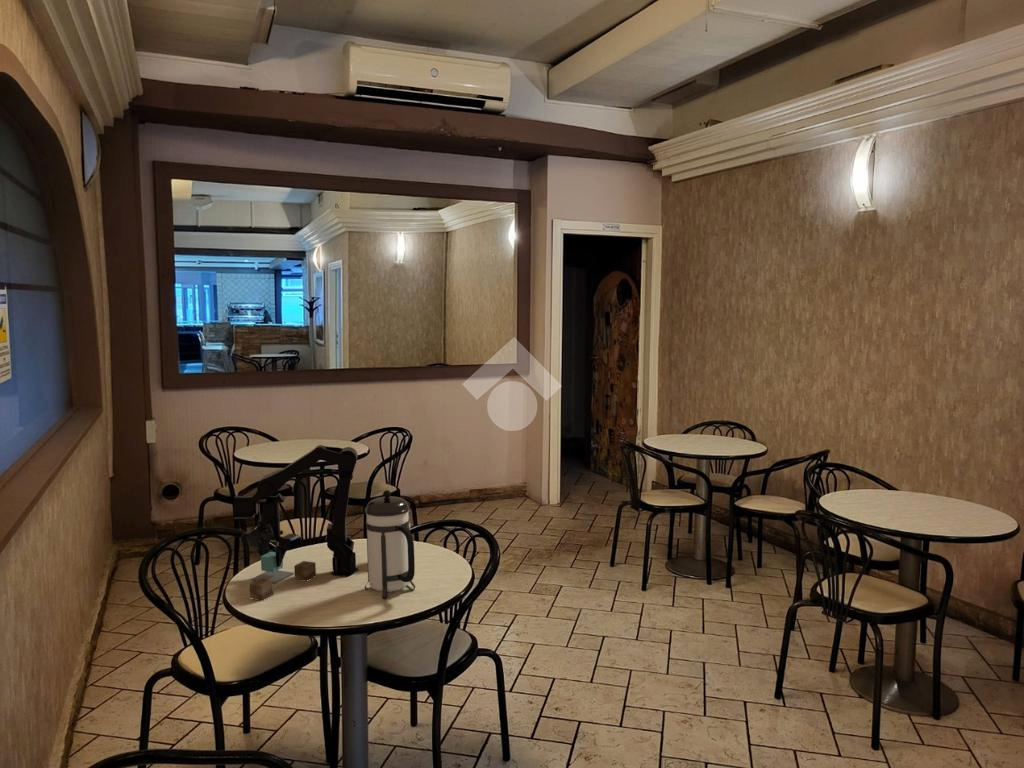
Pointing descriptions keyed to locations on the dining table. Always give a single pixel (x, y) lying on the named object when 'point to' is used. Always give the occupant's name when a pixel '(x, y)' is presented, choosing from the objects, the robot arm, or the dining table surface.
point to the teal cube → (270, 562)
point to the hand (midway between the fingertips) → (272, 565)
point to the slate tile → (273, 576)
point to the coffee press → (389, 544)
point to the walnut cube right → (305, 570)
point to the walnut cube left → (261, 589)
